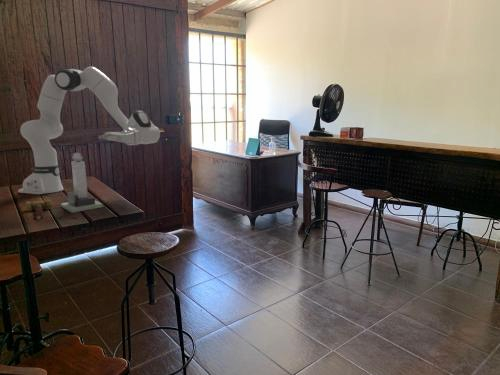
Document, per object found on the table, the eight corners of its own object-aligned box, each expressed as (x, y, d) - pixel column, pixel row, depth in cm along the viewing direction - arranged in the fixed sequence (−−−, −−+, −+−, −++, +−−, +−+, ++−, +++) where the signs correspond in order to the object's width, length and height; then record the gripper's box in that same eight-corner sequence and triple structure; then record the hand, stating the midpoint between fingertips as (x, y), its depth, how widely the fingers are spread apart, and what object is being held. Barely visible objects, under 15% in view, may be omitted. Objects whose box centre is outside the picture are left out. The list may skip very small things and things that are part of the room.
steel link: (84, 202, 183) (80, 152, 178) (88, 203, 180) (83, 152, 175) (75, 203, 180) (70, 152, 175) (78, 205, 177) (73, 153, 172)
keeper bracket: (90, 201, 190) (89, 187, 189) (103, 207, 180) (101, 192, 179) (61, 206, 181) (59, 192, 179) (72, 212, 171) (70, 197, 169)
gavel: (51, 212, 161) (24, 215, 157) (52, 222, 162) (25, 225, 158) (50, 198, 179) (26, 200, 175) (51, 207, 180) (27, 209, 176)
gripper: (120, 128, 200) (94, 129, 190) (139, 131, 185) (112, 132, 176) (121, 141, 201) (95, 142, 192) (140, 144, 187) (113, 146, 177)
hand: (103, 137), depth 184 cm, fingers open, 8 cm apart
